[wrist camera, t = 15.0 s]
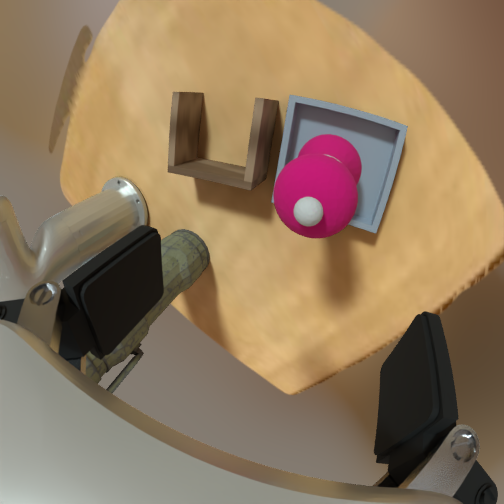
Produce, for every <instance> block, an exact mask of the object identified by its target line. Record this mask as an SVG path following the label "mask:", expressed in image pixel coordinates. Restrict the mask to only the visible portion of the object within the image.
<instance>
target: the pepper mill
mask: <svg viewBox="0 0 504 504" xmlns="http://www.w3.org/2000/svg"><path fill="white" fill-rule="evenodd" d="M361 172H362V164H361V159H360V156H359V154H358V152H357V150H356V149H355V147H354V146H353V145H352V144H351V143H350V142H349V141H347V140H346V139H344V138H342V137H340V136H337V135H332V134H323V135H319V136H316V137H314V138H312V139H310V140H309V141H308V142H306V143H305V145H304V146H303V147H302V149H301V150H300V152H299V154H298V157H297V158H295V159H293V160H292V161H290V162H289V163H288V164H286V165H285V167H284V168H283V169H282V170H281V172H280V174H279V175H278V177H277V179H276V182H275V186H274V193H273V197H274V205H275V208H276V211H277V214H278V215H279V217H280V219H281V220H282V222H283V223H284V224H285V225H286V226H287V227H288V228H289V229H291V230H292V231H294V232H295V233H297V234H299V235H302V236H305V237H309V238H325V237H329V236H332V235H334V234H336V233H338V232H340V231H341V230H342V229H344V228H345V227H346V226H347V225H348V224H349V222H350V221H351V219H352V217H353V216H354V214H355V211H356V208H357V203H358V191H357V184H358V182H359V179H360V176H361Z"/></svg>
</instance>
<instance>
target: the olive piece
mask: <svg viewBox="0 0 504 504" xmlns="http://www.w3.org/2000/svg"><path fill="white" fill-rule="evenodd" d="M161 254H162V271H163V285H164V293H163V296H162V298H161V299H160V300H159V301H158V303H157V304H156V305H155V306H154V307H153V308H152V309H151V310H150V311H149V312H148V313H147V314H146V315H145V316H144V318H143V319H142V320H141V321H140V322H139V323H138V324H137V325H136V326H135V327H134V328H133V329H132V331H131V332H130V333H129V334H128V335H127V336H126V337H125V338H124V339H123V340H122V341H121V343H120V344H119V345H118V346H117V347H116V348H115V349H114V350H113V351H112V353H111V354H109V355H105V356H104V357H103V358H102V359H101V360H100V359H98V358H97V357H95V356H94V355H93V354H91V352H90V351H89V352H88V353H87V354H86V376H87V377H89V378H90V379H91V380H93V381H94V382H96V383H97V384H98V383H99V381H100V380H101V377H102V376H103V374H104V373H105V372H106V373H107V372H108V371H109V370H110V369H111V368H112V367H113V366H115V365H117V364H118V363H120V362H122V361H124V360H125V359H126V358H127V357H128V356H129V355H130V354H134V355H136V356H134V357H133V358H132V359H131V361H130V362H129V363H128V364H127V365H126V367H125V368H124V369H123V370H122V371H121V373H120V374H119V375H118V376H117V377H116V379H115V380H114V381H113V382H112V383H111V385H110V386H109V387H108V388H107V389H106V390H107V391H109V392H110V393H113V392H114V391H115V390H116V388H117V387H118V386H119V385H120V383H121V382H122V381H123V380H124V378H125V377H126V376H127V375H128V374H129V372H130V371H131V370H132V369H133V368H134V366H135V365H136V364H137V362H138V361H139V360H140V358H141V357H142V355H143V354H144V353H143V352H142V350H141V349H139V347H140V346H141V344H140V342H141V341H142V339H143V338H144V337H145V336H146V335H147V334H148V330H149V326H150V325H151V324H152V323H153V322H154V321H155V320H156V319H157V317H158V316H159V315H160V314H161V313H162V312H163V311H164V310H165V309H166V308H167V306H168V305H169V304H170V303H171V302H172V301H173V300H174V299H175V298H176V297H177V295H178V294H179V293H181V292H183V291H184V290H186V289H188V288H189V287H190V286H191V285H192V284H193V283H194V282H195V281H196V280H197V279H198V277H199V276H200V275H201V273H202V271H203V270H204V269H205V268H206V267H207V266H208V263H209V252H208V248H207V246H206V245H205V243H204V241H203V240H202V239H201V238H200V237H199V236H198V235H197V234H195V233H193V232H192V231H189V230H185V229H182V230H177V231H175V232H173V233H172V234H171V235H169V236H167V237H165V238H164V239H162V240H161Z"/></svg>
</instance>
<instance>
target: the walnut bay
mask: <svg viewBox="0 0 504 504" xmlns="http://www.w3.org/2000/svg"><path fill="white" fill-rule="evenodd" d="M202 100H203V93H195V92H173V96H172V107H171V120H170V134H169V154H168V172H169V173H175V174H180V175H184V176H189V177H194V178H199V179H203V180H208V181H212V182H217V183H221V184H226V185H230V186H234V187H238V188H242V189H247V190H252V189H253V188H255V187H256V186H257V185H259V184H260V183H261V182H262V181H264V180H265V179H266V176H267V169H268V163H269V157H270V151H271V145H272V138H273V132H274V126H275V120H276V113H277V107H278V101H276V100H269V99H263V98H255V105H254V112H253V119H252V126H251V133H250V140H249V147H248V155H247V162H246V167H242V166H238V165H233V164H228V163H223V162H218V161H212V160H207V159H201V158H197V152H198V140H199V129H200V119H201V109H202Z"/></svg>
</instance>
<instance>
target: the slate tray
mask: <svg viewBox="0 0 504 504" xmlns="http://www.w3.org/2000/svg"><path fill="white" fill-rule="evenodd" d="M407 127H408V126H406V125H403V124H400V123H397V122H395V121H392V120H389V119H386V118H383V117H380V116H376V115H373V114H370V113H367V112H363V111H360V110H356V109H352V108H349V107H345V106H341V105H337V104H333V103H329V102H324V101H320V100H315V99H310V98H305V97H300V96H294V95H290V96H289V102H288V108H287V114H286V120H285V126H284V132H283V138H282V144H281V150H280V155H279V161H278V167H277V173H276V179H277V177H278V175H279V174H280V172H281V170H282V169H283V168H284V167H285V165H286V164H288V163H289V162H290V161H292V160H293V159H295V158H297V157H298V154H299V152H300V150H301V149H302V147H303V146H304V145H305V143H306V142H308V141H309V140H310V139H312V138H314V137H316V136H319V135H323V134H332V135H337V136H340V137H342V138H344V139H346V140H347V141H349V142H350V143H351V144H352V145H353V146H354V147H355V149H356V150H357V152H358V154H359V156H360V159H361V164H362V172H361V176H360V179H359V182H358V184H357V191H358V203H357V208H356V211H355V214H354V216H353V217H352V219H351V221H350V222H349V224H348V225H351V226H354V227H357V228H361V229H364V230H367V231H370V232H373V233H376V232H377V229H378V226H379V224H380V221H381V218H382V215H383V212H384V209H385V206H386V203H387V200H388V197H389V194H390V190H391V187H392V184H393V181H394V177H395V174H396V170H397V167H398V163H399V159H400V156H401V152H402V148H403V144H404V140H405V136H406V131H407ZM276 179H275V182H276ZM274 186H275V184H274ZM273 193H274V190H273ZM271 202H272V203H274V197H273V196H272V201H271Z"/></svg>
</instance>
